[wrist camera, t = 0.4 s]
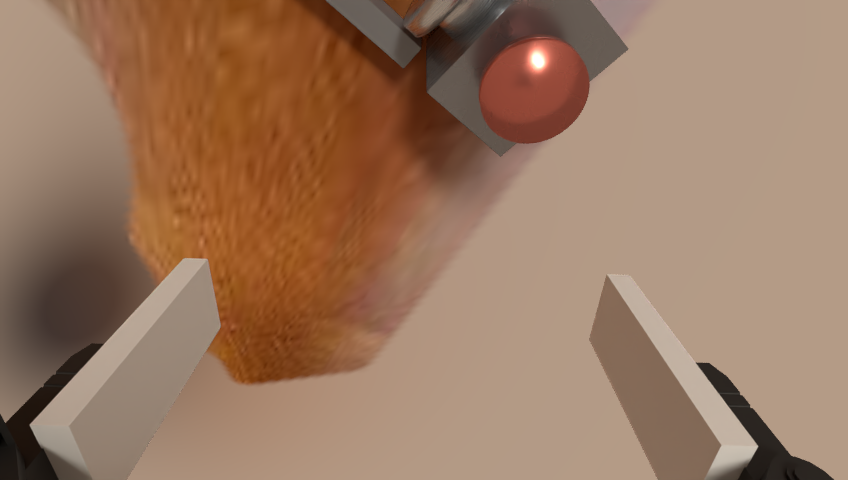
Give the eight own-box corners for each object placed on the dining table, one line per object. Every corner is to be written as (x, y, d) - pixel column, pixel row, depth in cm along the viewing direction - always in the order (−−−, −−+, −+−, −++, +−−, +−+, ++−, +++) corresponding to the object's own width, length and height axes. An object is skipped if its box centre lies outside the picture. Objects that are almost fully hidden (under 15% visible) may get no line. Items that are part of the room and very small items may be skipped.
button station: (497, -112, 29) (530, -80, 20) (588, 3, 34) (649, 72, 25) (396, 13, 34) (386, 84, 25) (487, 98, 39) (506, 185, 30)
